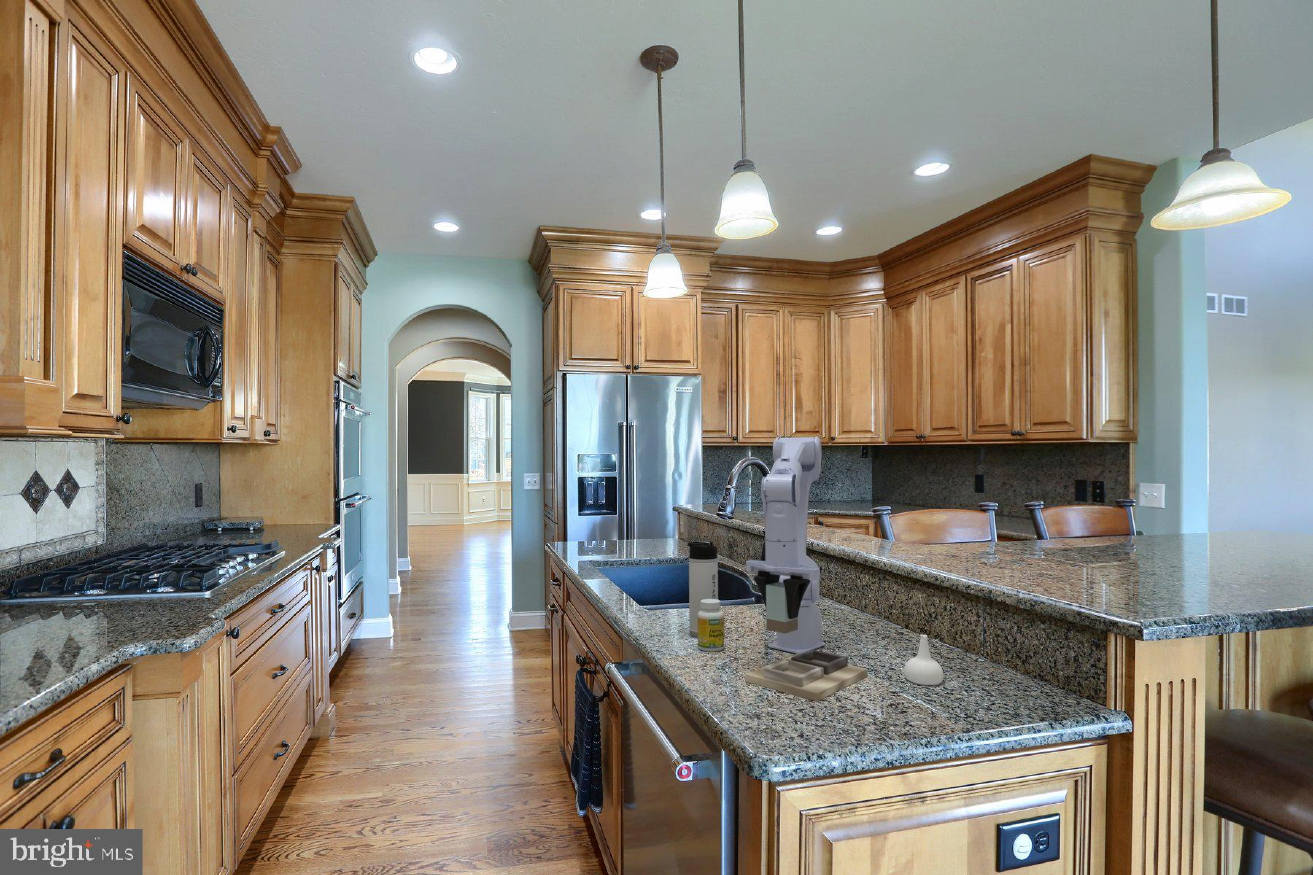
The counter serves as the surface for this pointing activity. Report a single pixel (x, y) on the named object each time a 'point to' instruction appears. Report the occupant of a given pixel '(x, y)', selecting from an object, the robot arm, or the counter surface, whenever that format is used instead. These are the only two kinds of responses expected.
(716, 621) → the supplement bottle
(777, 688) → the board
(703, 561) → the travel mug
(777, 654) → the counter surface
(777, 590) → the banded peg
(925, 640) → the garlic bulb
